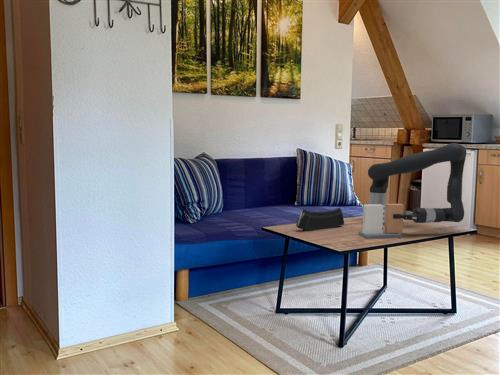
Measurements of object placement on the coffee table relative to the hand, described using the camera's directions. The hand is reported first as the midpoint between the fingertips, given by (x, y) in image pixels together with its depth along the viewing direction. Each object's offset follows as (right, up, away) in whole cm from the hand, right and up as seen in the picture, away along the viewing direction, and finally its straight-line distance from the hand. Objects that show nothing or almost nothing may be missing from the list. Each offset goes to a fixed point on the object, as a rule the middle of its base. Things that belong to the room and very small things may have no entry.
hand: (391, 215), depth 247 cm
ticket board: (-6, -10, 0) cm, 12 cm away
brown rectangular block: (+1, -8, +1) cm, 8 cm away
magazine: (-33, -8, +15) cm, 37 cm away
